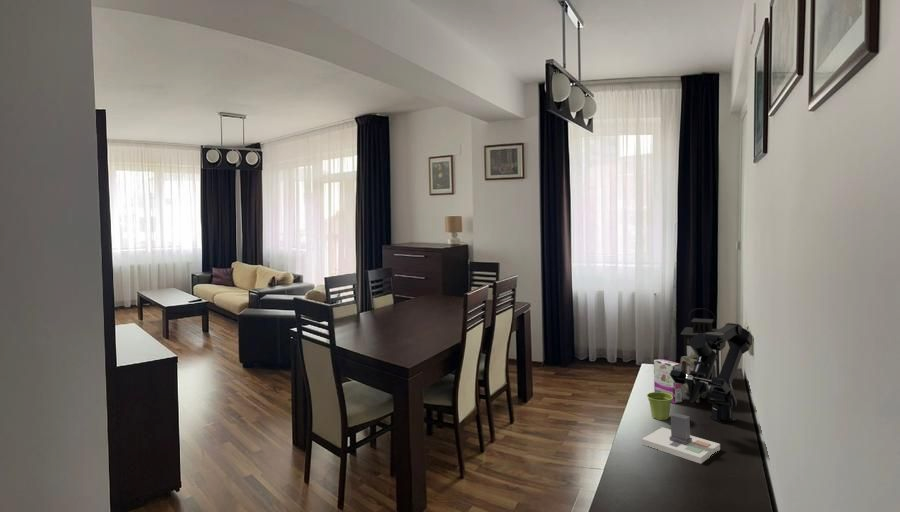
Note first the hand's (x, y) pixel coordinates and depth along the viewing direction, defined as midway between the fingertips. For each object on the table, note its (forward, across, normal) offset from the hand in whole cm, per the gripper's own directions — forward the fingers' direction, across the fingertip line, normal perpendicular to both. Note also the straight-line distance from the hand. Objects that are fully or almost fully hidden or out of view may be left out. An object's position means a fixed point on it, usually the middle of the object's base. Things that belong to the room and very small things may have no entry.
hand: (691, 401), depth 173 cm
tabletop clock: (-19, +16, -39) cm, 47 cm away
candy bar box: (-13, +25, -33) cm, 43 cm away
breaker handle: (+14, 0, -2) cm, 14 cm away
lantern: (-38, +26, -58) cm, 74 cm away
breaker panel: (+16, 0, -3) cm, 16 cm away
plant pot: (+2, +17, -18) cm, 25 cm away
